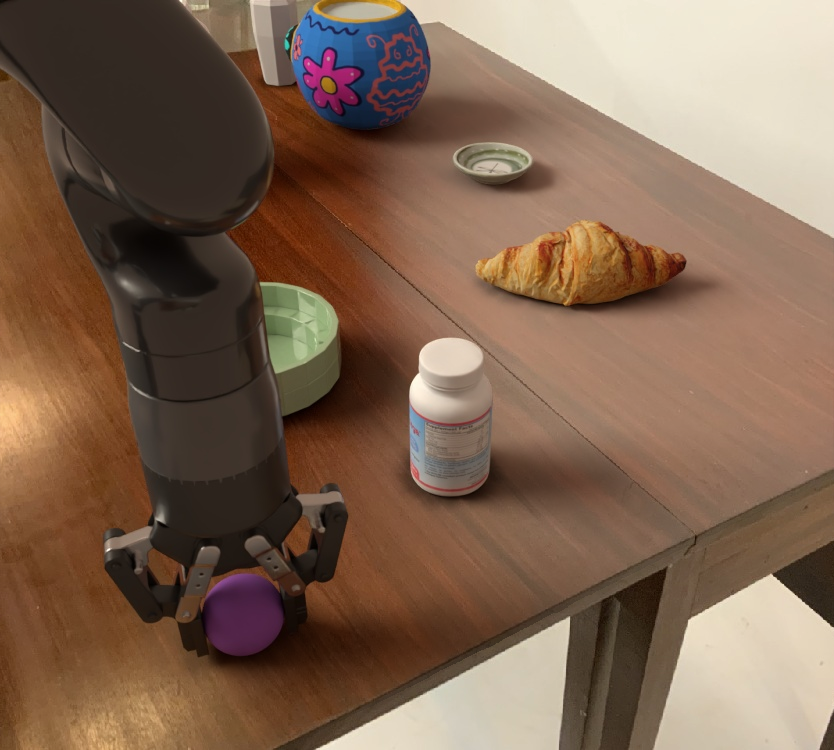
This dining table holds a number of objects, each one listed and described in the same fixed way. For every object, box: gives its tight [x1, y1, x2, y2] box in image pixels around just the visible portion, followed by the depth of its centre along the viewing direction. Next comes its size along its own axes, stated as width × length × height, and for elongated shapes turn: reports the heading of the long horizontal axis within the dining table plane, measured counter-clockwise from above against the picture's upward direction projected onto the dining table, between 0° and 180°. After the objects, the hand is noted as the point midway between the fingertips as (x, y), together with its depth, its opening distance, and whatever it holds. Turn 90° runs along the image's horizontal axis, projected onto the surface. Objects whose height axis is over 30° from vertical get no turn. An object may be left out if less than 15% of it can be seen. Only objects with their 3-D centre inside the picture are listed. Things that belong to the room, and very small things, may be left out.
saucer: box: [452, 141, 534, 185], centre depth 117 cm, size 10×10×2 cm
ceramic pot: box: [285, 0, 432, 131], centre depth 125 cm, size 18×18×15 cm
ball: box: [201, 572, 285, 657], centre depth 60 cm, size 5×5×5 cm
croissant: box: [474, 219, 687, 307], centre depth 97 cm, size 21×10×8 cm, turn 96°
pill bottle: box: [408, 337, 494, 497], centre depth 72 cm, size 6×6×11 cm
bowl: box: [259, 281, 343, 417], centre depth 83 cm, size 14×14×5 cm
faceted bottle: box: [249, 0, 299, 87], centre depth 134 cm, size 6×6×22 cm
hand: (247, 633), depth 62 cm, fingers closed on ball, 5 cm apart
